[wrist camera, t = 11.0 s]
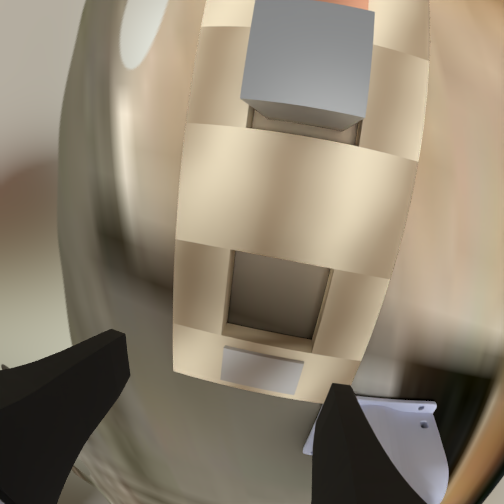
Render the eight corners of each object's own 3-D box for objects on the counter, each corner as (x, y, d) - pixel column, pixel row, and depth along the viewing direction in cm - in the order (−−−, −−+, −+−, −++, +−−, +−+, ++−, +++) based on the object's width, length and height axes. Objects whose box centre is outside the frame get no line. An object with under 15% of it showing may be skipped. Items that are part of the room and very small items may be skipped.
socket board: (421, 9, 11) (430, -3, 10) (340, 391, 20) (341, 408, 19) (220, -20, 13) (212, -33, 11) (180, 358, 22) (171, 373, 20)
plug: (350, 63, 14) (374, 11, 7) (342, 131, 15) (365, 118, 9) (277, 52, 14) (256, -5, 8) (268, 119, 16) (239, 98, 9)
